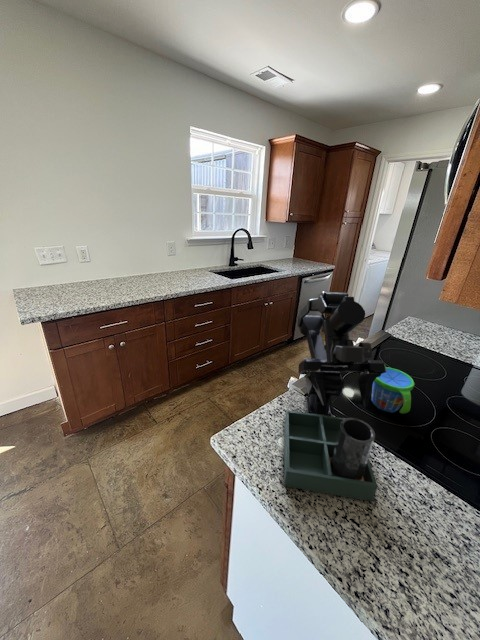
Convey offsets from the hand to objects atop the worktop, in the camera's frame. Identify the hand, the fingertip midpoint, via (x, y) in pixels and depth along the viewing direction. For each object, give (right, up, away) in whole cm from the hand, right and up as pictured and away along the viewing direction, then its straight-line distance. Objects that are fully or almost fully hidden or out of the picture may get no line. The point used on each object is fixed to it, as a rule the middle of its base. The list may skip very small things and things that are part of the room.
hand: (344, 406), depth 59 cm
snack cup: (+20, -7, +21) cm, 30 cm away
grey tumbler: (0, -14, -1) cm, 15 cm away
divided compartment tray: (-4, -13, +4) cm, 14 cm away
